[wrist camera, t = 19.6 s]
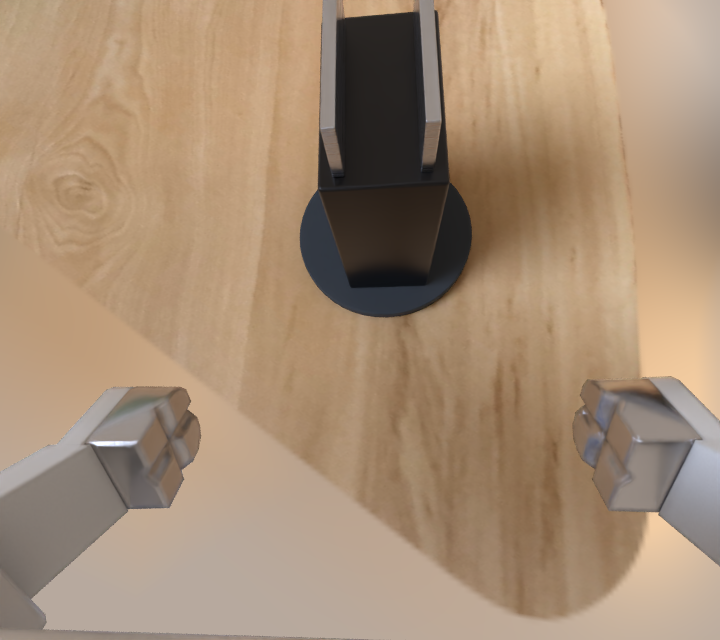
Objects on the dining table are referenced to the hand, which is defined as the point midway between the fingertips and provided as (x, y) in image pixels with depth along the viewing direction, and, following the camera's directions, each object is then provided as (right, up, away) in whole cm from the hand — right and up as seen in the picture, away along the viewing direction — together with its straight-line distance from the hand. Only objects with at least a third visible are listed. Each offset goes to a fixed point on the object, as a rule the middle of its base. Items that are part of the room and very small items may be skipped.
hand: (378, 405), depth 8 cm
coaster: (+1, +5, +8) cm, 10 cm away
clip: (+1, +5, +8) cm, 10 cm away
